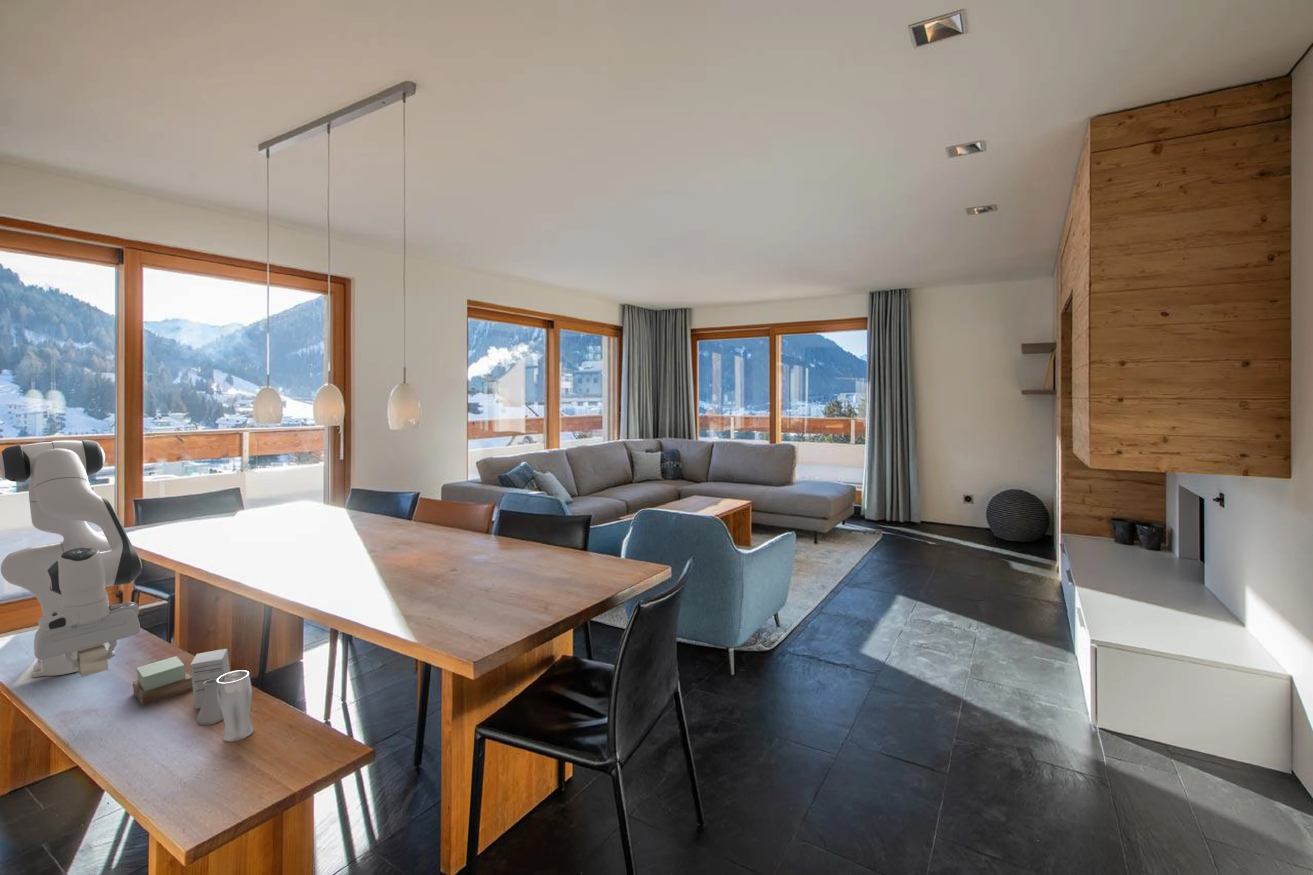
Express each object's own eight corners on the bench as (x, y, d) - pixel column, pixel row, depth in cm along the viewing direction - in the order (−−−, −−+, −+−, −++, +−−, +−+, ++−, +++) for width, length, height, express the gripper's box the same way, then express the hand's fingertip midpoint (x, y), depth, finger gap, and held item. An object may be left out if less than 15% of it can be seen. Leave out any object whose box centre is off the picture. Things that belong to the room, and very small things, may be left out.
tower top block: (138, 681, 171) (136, 667, 171) (177, 669, 178) (176, 655, 178) (144, 691, 166) (143, 677, 165) (185, 678, 172) (184, 664, 172)
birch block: (78, 671, 159) (75, 649, 159) (103, 663, 163) (101, 642, 163) (82, 676, 156) (79, 654, 156) (108, 669, 160) (105, 647, 159)
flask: (213, 727, 154) (209, 689, 153) (189, 724, 155) (185, 687, 154) (238, 711, 161) (235, 675, 160) (215, 709, 162) (211, 673, 161)
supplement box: (200, 696, 169) (196, 653, 168) (232, 690, 172) (228, 647, 171) (193, 709, 162) (189, 664, 161) (227, 703, 165) (223, 658, 164)
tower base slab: (134, 695, 172) (132, 681, 171) (182, 679, 180) (180, 666, 180) (144, 707, 165) (142, 693, 164) (193, 690, 173) (192, 677, 173)
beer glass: (247, 741, 147) (241, 682, 146) (215, 744, 146) (209, 684, 145) (260, 725, 154) (255, 668, 153) (230, 728, 153) (224, 671, 152)
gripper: (134, 596, 168) (140, 644, 170) (29, 621, 152) (35, 673, 154) (141, 602, 164) (146, 651, 166) (33, 627, 148) (40, 681, 150)
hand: (92, 662), depth 159 cm, fingers closed on birch block, 5 cm apart
